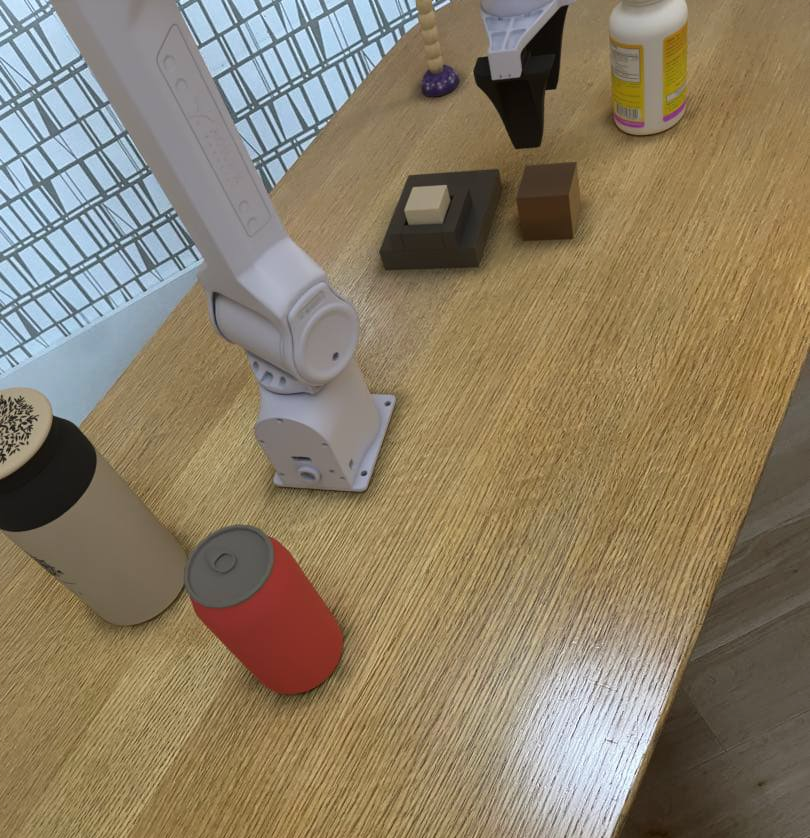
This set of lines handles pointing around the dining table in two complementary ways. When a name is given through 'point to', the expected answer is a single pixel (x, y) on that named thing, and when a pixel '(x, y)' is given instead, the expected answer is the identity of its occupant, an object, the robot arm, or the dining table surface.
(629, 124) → the supplement bottle
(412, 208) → the key
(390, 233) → the button base
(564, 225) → the walnut block
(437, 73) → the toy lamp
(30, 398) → the travel mug
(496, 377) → the dining table surface
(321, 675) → the beer can
